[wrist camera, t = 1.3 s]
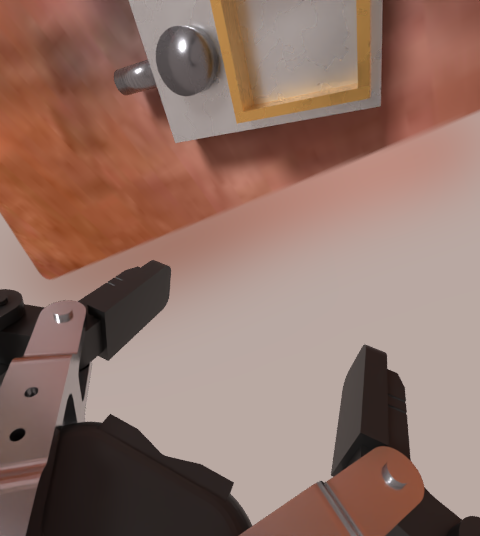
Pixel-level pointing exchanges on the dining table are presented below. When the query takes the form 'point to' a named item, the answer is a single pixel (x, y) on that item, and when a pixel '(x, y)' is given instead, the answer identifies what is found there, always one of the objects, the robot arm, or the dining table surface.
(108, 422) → the robot arm
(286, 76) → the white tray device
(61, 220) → the dining table surface
